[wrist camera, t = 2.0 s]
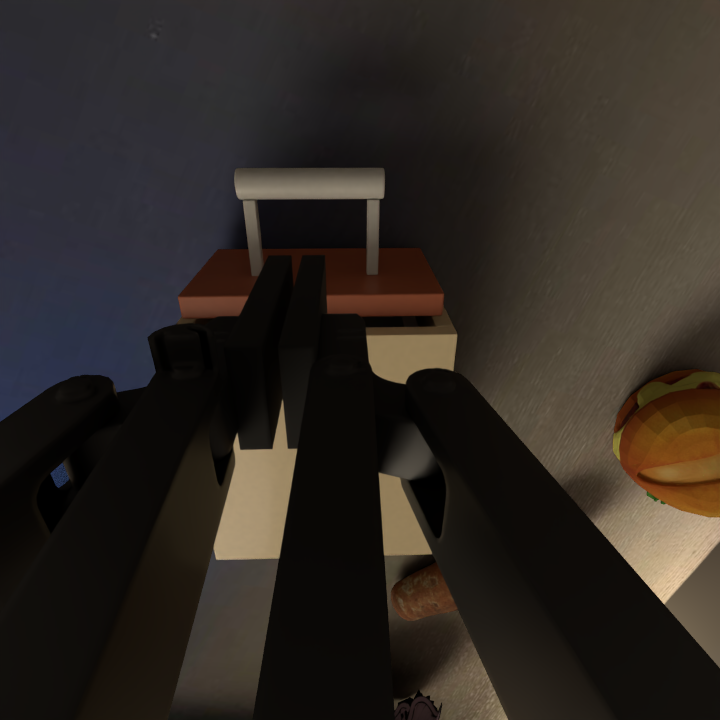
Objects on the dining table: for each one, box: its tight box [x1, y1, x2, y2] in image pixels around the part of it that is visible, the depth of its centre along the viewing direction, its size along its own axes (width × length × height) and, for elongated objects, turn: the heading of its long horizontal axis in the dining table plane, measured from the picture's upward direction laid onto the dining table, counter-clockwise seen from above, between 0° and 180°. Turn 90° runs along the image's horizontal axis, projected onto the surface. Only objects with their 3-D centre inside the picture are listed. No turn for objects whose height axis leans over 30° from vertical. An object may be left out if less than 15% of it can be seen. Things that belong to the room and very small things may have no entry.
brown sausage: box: [391, 562, 458, 621], centre depth 42 cm, size 6×19×6 cm, turn 121°
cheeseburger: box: [613, 369, 720, 517], centre depth 34 cm, size 10×11×10 cm
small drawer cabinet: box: [177, 306, 458, 560], centre depth 30 cm, size 16×14×10 cm
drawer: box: [178, 168, 444, 328], centre depth 27 cm, size 20×13×8 cm, turn 0°
